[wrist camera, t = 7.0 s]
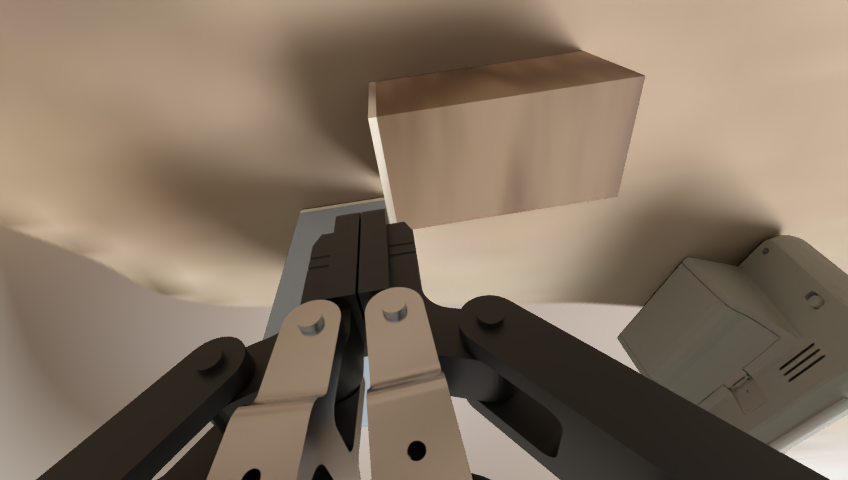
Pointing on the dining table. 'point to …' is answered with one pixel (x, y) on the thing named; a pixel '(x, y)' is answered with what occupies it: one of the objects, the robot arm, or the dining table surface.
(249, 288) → the dining table surface
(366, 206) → the slate-blue block
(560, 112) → the walnut block
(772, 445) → the digital clock
